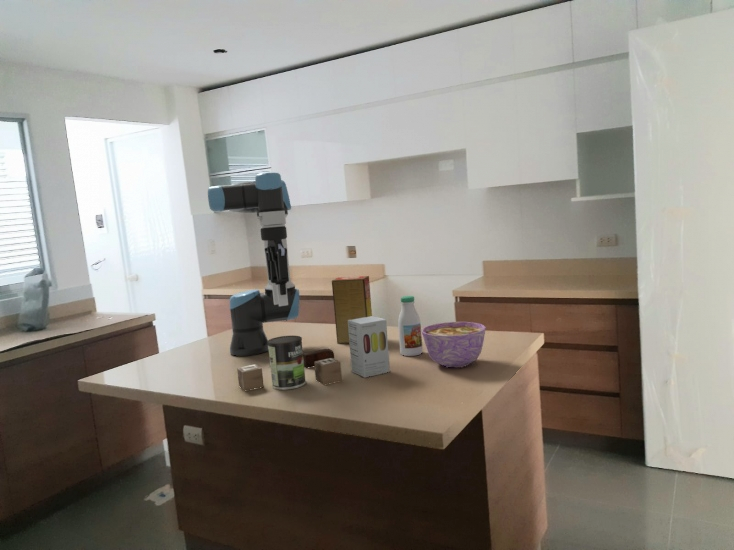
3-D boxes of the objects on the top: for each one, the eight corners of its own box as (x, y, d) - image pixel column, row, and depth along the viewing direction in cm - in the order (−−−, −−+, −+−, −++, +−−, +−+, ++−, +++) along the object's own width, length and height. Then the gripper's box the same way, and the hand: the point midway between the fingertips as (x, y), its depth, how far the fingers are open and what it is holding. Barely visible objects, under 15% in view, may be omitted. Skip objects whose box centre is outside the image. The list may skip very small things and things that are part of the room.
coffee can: (312, 381, 170) (308, 336, 169) (291, 391, 162) (286, 344, 160) (287, 378, 176) (282, 334, 174) (264, 388, 167) (260, 342, 166)
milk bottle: (397, 356, 190) (392, 298, 188) (404, 350, 198) (400, 295, 195) (419, 357, 188) (414, 298, 185) (425, 351, 195) (421, 294, 192)
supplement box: (363, 378, 169) (359, 324, 167) (350, 371, 177) (346, 319, 175) (391, 371, 173) (386, 318, 171) (377, 365, 181) (372, 315, 179)
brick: (307, 369, 185) (305, 355, 184) (301, 366, 188) (300, 353, 188) (334, 362, 190) (333, 349, 190) (329, 360, 194) (328, 347, 193)
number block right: (316, 380, 171) (314, 360, 170) (333, 376, 174) (331, 357, 173) (323, 385, 165) (321, 364, 165) (342, 381, 168) (340, 360, 168)
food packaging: (374, 337, 222) (369, 275, 219) (369, 343, 213) (364, 278, 210) (342, 338, 225) (337, 277, 223) (336, 343, 216) (330, 280, 214)
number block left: (239, 387, 171) (236, 367, 170) (258, 382, 174) (255, 363, 173) (244, 391, 166) (242, 371, 165) (263, 387, 168) (261, 367, 168)
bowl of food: (438, 354, 189) (436, 320, 188) (496, 357, 179) (494, 322, 178) (413, 371, 172) (410, 334, 171) (475, 376, 162) (473, 337, 160)
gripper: (252, 227, 169) (260, 303, 172) (269, 227, 154) (278, 310, 157) (276, 225, 172) (283, 300, 175) (295, 224, 158) (303, 306, 160)
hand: (281, 304), depth 166 cm, fingers open, 4 cm apart
